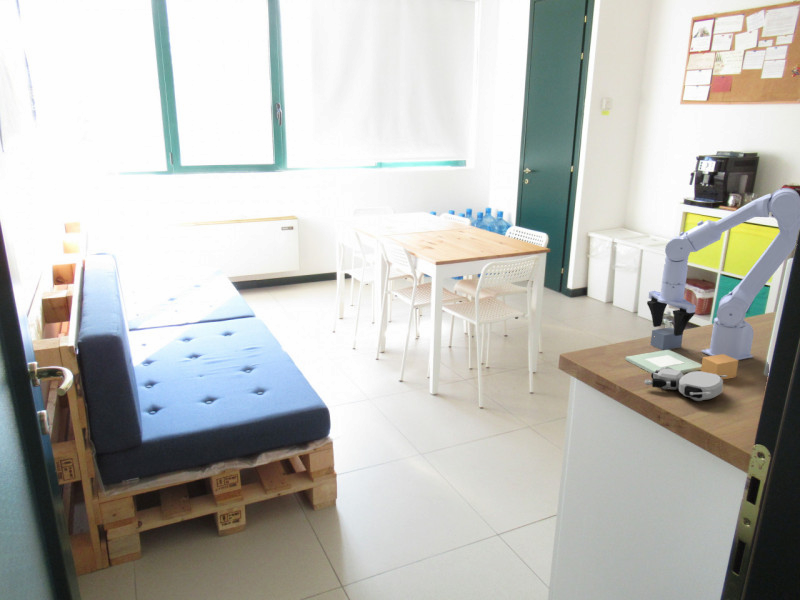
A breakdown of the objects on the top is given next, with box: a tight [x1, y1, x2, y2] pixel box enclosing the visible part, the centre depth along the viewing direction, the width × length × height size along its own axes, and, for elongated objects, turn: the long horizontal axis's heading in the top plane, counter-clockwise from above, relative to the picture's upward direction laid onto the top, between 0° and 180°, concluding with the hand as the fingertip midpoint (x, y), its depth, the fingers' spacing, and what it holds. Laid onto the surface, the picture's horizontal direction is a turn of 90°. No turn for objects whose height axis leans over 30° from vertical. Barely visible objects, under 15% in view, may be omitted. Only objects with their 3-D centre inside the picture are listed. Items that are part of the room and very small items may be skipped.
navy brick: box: [650, 326, 684, 351], centre depth 162 cm, size 6×4×4 cm
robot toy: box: [644, 367, 727, 402], centre depth 134 cm, size 12×4×15 cm
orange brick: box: [700, 354, 740, 380], centre depth 143 cm, size 6×4×4 cm
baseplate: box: [624, 349, 702, 374], centre depth 150 cm, size 14×12×1 cm
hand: (667, 330), depth 161 cm, fingers open, 7 cm apart
